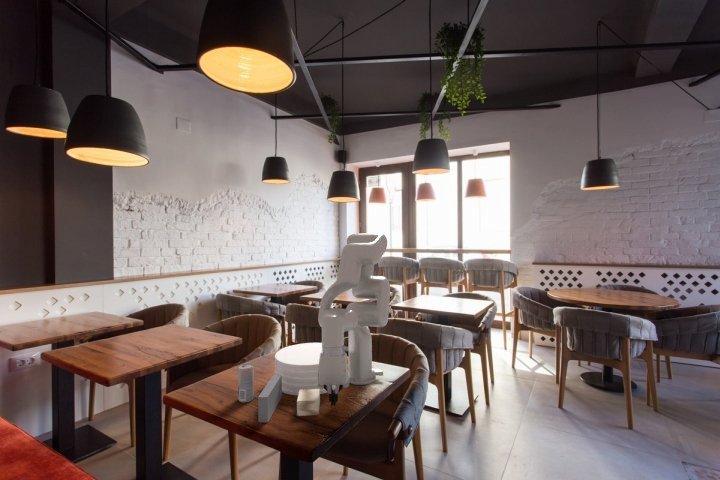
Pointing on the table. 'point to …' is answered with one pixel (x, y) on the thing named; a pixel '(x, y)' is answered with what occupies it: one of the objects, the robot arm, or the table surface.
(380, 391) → the table surface
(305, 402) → the cream block
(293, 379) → the plate stack
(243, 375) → the energy drink
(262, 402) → the gray board
